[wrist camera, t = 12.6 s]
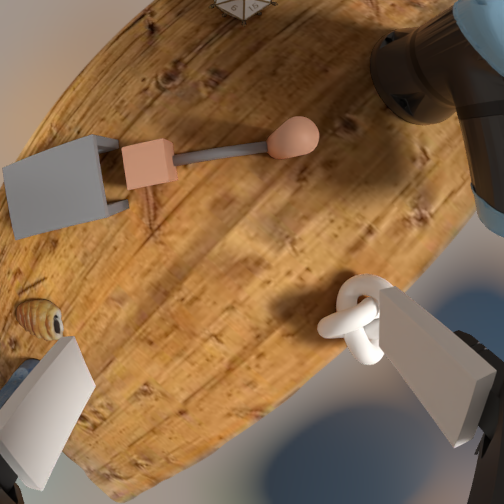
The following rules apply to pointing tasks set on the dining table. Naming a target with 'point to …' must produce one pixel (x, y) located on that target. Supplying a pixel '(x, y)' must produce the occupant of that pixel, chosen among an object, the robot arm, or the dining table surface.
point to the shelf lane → (59, 187)
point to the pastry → (41, 319)
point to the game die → (241, 8)
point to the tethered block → (213, 153)
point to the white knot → (357, 317)
